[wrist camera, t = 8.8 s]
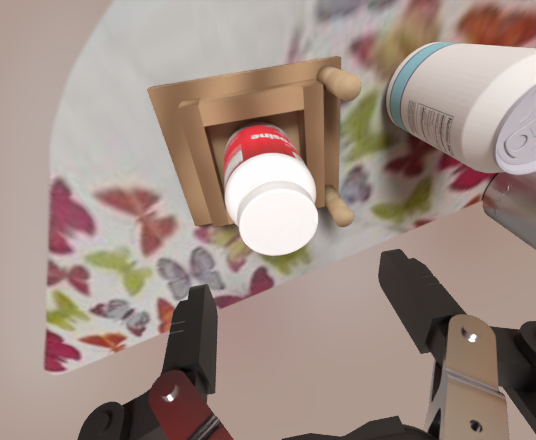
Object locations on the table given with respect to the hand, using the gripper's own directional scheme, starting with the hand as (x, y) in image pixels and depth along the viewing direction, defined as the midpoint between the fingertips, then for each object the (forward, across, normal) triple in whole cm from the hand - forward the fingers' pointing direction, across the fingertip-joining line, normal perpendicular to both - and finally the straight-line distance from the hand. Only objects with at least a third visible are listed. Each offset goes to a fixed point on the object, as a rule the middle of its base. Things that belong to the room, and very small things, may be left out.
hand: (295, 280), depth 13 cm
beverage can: (+17, -15, -3) cm, 22 cm away
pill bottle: (+15, 0, 0) cm, 15 cm away
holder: (+16, 0, 0) cm, 16 cm away
